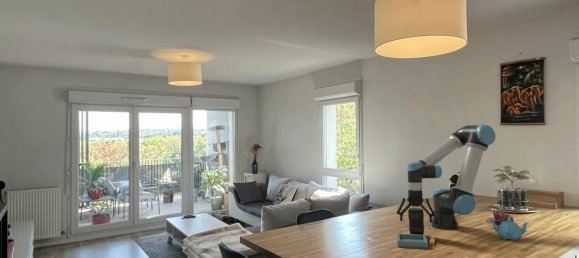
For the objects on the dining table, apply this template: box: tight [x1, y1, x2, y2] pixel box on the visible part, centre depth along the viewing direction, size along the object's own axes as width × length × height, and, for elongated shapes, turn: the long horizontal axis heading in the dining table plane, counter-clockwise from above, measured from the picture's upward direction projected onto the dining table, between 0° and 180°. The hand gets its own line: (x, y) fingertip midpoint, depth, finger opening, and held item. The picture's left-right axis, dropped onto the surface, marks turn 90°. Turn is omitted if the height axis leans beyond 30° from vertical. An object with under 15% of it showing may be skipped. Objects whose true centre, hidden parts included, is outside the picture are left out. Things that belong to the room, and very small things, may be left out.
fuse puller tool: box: [429, 236, 436, 246], centre depth 184 cm, size 10×2×2 cm, turn 154°
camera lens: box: [407, 207, 425, 235], centre depth 196 cm, size 8×8×15 cm
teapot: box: [490, 217, 530, 242], centre depth 187 cm, size 13×13×10 cm
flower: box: [485, 209, 515, 227], centre depth 209 cm, size 15×15×10 cm
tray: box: [396, 233, 429, 250], centre depth 183 cm, size 14×14×3 cm
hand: (415, 227), depth 196 cm, fingers open, 13 cm apart
